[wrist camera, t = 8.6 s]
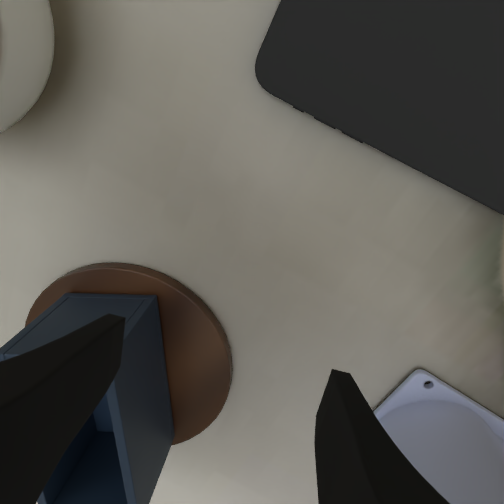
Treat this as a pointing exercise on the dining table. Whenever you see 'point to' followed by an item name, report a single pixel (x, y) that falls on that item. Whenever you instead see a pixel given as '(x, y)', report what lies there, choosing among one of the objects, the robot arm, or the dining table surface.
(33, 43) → the trinket box
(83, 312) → the bin
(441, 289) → the dining table surface
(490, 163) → the phone
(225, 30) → the dining table surface
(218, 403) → the disc
